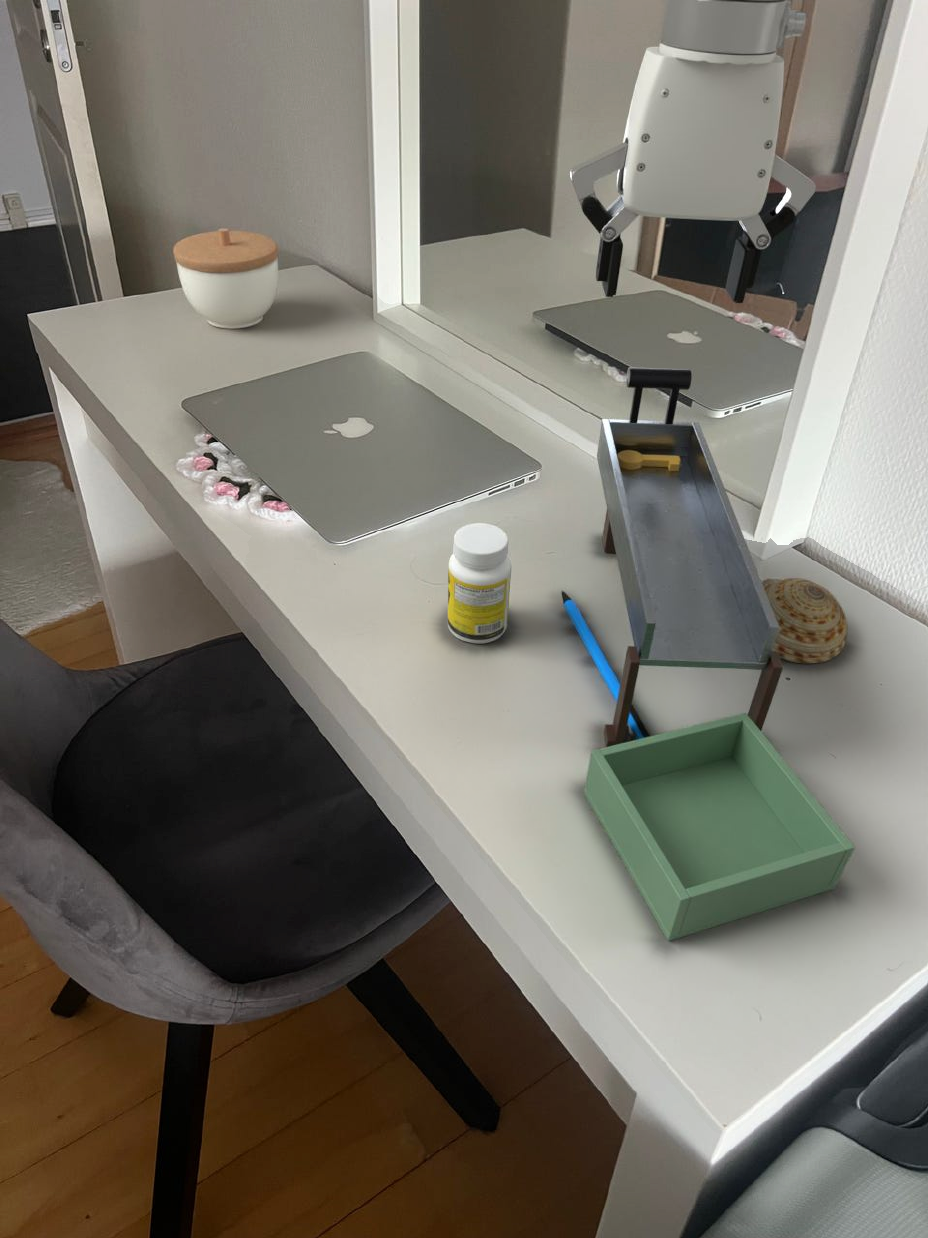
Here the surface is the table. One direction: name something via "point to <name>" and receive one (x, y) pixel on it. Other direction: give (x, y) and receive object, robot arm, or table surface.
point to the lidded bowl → (228, 276)
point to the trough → (681, 543)
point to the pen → (602, 664)
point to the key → (647, 460)
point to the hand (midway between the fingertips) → (671, 293)
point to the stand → (620, 729)
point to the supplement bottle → (479, 583)
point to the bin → (713, 824)
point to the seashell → (806, 620)
